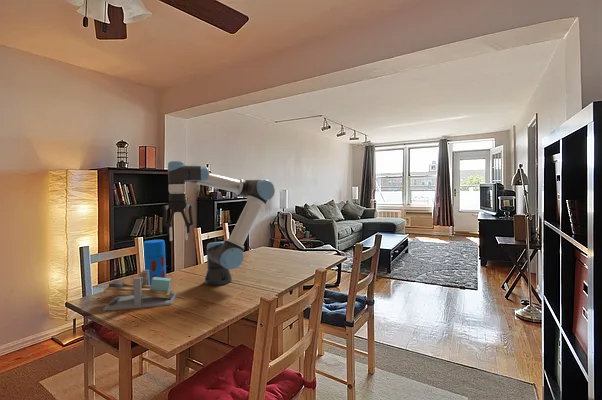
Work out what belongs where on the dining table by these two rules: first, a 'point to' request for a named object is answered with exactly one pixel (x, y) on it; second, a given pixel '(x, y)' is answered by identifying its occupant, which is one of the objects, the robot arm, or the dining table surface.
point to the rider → (160, 284)
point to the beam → (128, 289)
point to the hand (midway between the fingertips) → (178, 240)
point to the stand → (139, 298)
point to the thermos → (155, 258)
